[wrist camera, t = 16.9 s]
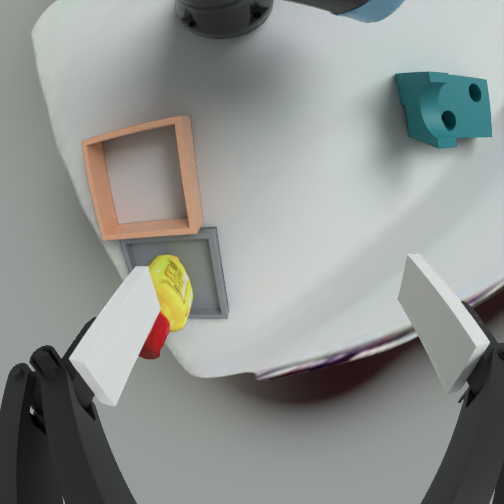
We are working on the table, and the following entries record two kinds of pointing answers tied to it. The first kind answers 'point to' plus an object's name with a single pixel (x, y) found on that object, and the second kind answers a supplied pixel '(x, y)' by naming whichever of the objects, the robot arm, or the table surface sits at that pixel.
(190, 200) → the holder
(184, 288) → the bottle
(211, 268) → the tray
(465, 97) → the teal l-shaped bracket
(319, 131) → the table surface
